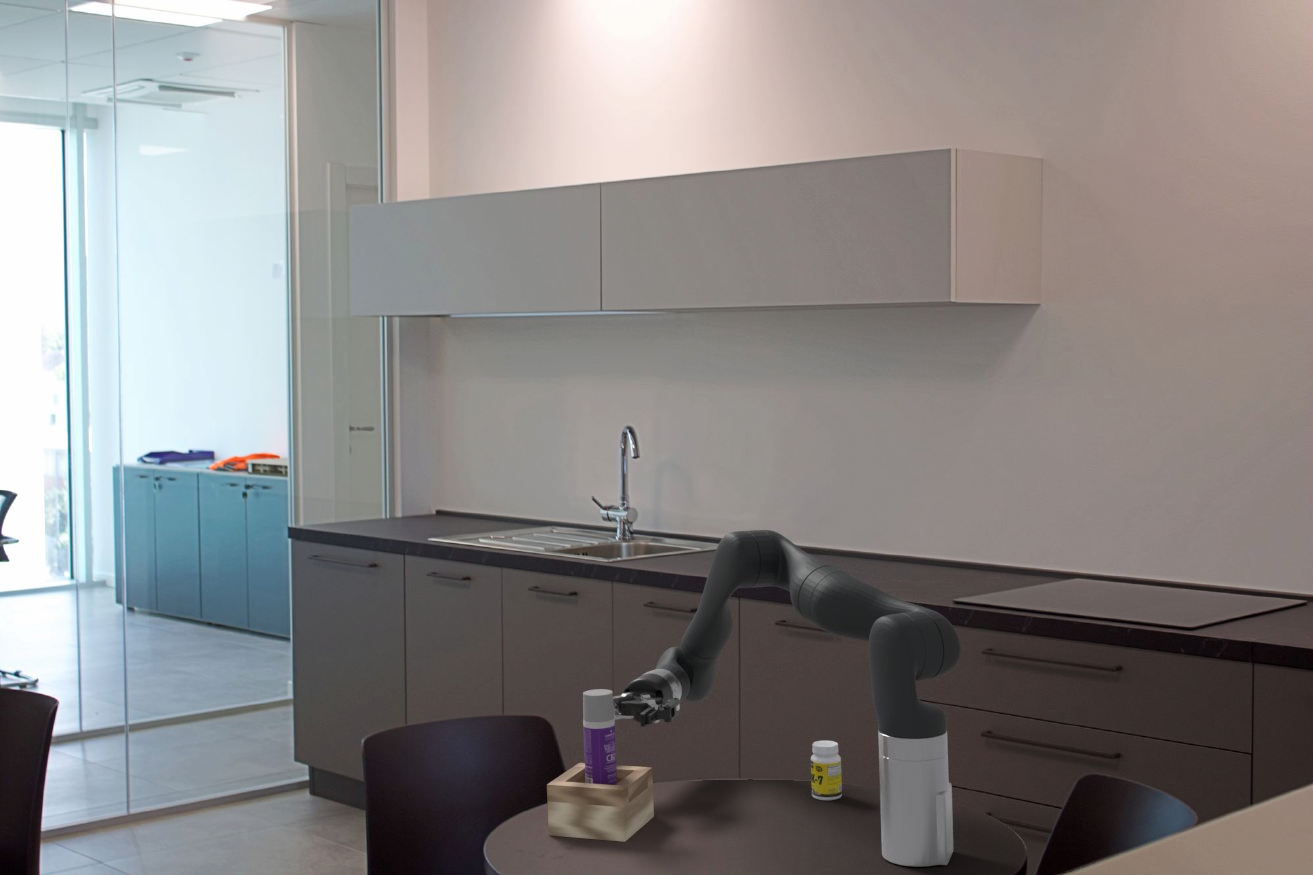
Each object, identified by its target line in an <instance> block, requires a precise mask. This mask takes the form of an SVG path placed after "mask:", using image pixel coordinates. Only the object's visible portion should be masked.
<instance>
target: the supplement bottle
mask: <svg viewBox="0 0 1313 875" xmlns="http://www.w3.org/2000/svg"><path fill="white" fill-rule="evenodd" d="M811 751H812V753H813V754H812V755H811V756H810V779H811V780H810V781H811V783H810V785H811V796H812V797H813V798H814V799H816V800H820V801H834V800H838V799H841V798H842V796H843V785H842V782H843V780H842V759H841V756H840V755H839V743H838V742H836V741H833V740H816V741H814V742H813V743H812V750H811Z"/></svg>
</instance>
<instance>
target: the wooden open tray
mask: <svg viewBox="0 0 1313 875" xmlns="http://www.w3.org/2000/svg"><path fill="white" fill-rule="evenodd" d="M616 770H617V784H616V785H605V784H591V783H586V781H585V762H579V763H577V764H575V765H574V766H572V767H571V768H570V769H568V770H566V771H565V772H563V773H562V774H560V775H559V776H558V777H556V778H554V779H553V780H551V781H550V782H549V783H547V784H546V793H547V795H546V796H547V797H546V798H547V799H546V800H547V801H546V802H547V820H548V822H547V823H548V824H547V825H548V826H547V827H548V836H551V837H552V836H554V837H564V838H566V837H567V838H575V839H577V838H578V839H589V840H590V839H591V840H601V841H610V842H611V841H613V842H623V843H625V842H627V841H628V840H629V839H630V838H631V837H633V836H634V834H636V833H637V832H638V831H639V830H640V829H642V828H643V827H644V826H645V825H646V824H647V823H648V822H650V821H651V820H652V819H653V818H654V817H655V809H654V807H655V806H654V804H655V803H654V784H653V781H654V780H653V776H654V775H653V767H649V766H637V765H636V766H633V765H620V764H619V765H618V764H616Z"/></svg>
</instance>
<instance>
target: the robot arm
mask: <svg viewBox="0 0 1313 875" xmlns="http://www.w3.org/2000/svg"><path fill="white" fill-rule="evenodd" d="M764 587H777V588H779V589H783V590H786V591H787V592H789V596H790V601H791V604H792V607H793V608H794V610H795V611H796V613H797V615H799V616H800V617H801V618H802V619H803V620H805V621H807V622H808V623H810V624H811V625H813V626H814V627H817V628H819V629H820V630H823V631H824V632H827V633H828V634H832V635H834V636H838V637H842V638H847V639H851V640H852V639H853V640H859V641H864V642H868V660H869V671H870V683H871V696H872V697H871V698H872V705H873V709H874V712H875V715H876V720H877V731H878V732H877V733H878V734H877V736H878V762H879V763H878V764H879V768H878V769H879V800H880V801H879V802H880V806H879V807H880V831H881V832H880V833H881V834H880V836H881V837H880V839H881V840H880V841H881V855H882V857H883V858H884V860H886V861H888V862H890V863H892V864H896V865H899V866H906V867H916V868H917V867H931V866H939V865H940V866H947V865H948V864H949V862H950V860H951V857H952V856H953V852H954V828H953V827H954V824H953V823H954V821H953V792H952V791H953V788H952V786H953V785H952V783H951V782H950V780H949V752H948V751H949V749H948V718H947V712H946V711H945V710H944V708H942V707H940V706H939V705H936V704H932V703H929V702H924V701H922V700H921V699H919V695H918V689H917V683H916V682H918V681H923V680H929V679H930V680H931V679H933V678H938V677H942V676H945V675H946V674H948V673H949V672H951V671H952V670H953V669H954V668H955V667H956V665H957V664H958V663H959V660H960V658H961V652H962V648H961V647H962V646H961V641H960V637H959V635H958V632H957V630H956V629H955V627H954V626H953V625H952V622H950V621H949V620H948V618H946V617H945V615H943V614H941V613H939V612H937V611H935V610H933V609H930V608H928V607H925V606H921V605H918V604H916V603H911V602H909V601H906V600H903V599H901V598H897V597H895V596H893V595H891V594H889V593H887V592H885V591H883V590H882V589H879V588H878V587H875V586H874V585H871V584H870V583H868V582H866V581H863V580H861V579H860V578H858V577H856V576H854V575H853V574H851V573H849V572H847V571H845V570H843V569H841V568H839V567H837V566H835V565H832V564H830V563H828V562H826V561H824V560H822V559H820V558H819V557H816V556H814V555H812V554H809V553H808V552H806V551H804V549H801V547H799V546H797V544H795V543H794V542H793V541H791V540H789V538H786V537H785V536H784V535H782V534H781V533H779V532H776V531H774V530H771V529H757V530H756V529H754V530H753V529H752V530H739V531H738V530H737V531H732V532H729V533H726V534H725V535H724V536H723V537H722V538H721V540H720V541H719V543H718V545H717V547H716V550H715V552H714V555H713V558H712V562H711V565H710V567H709V571H708V574H707V578H706V581H705V584H704V588H703V591H702V595H701V597H700V598H701V599H700V603H699V605H698V607H697V610H696V611H695V614H694V616H693V618H692V620H691V621H690V623H689V625H688V626H687V629H686V630H685V632H684V634H683V636H682V638H681V641H680V645H679V646H676V645H675V646H671V647H669V648H668V649H666V650H665V651H664V652H663V653H662V655H661V656H660V658H659V659H658V662H657V664H656V666H655V668H654V669H653V670H649V671H646V672H645V673H643V674H641V675H640V676H639V677H637V678H635V679H634V680H632V681H630V682H629V683H628V684H627V686H626V687H625V688H624V690H623V692H622V694H621V695H615V696H614V695H613V704H614V720H621V719H628V720H629V719H631V720H632V721H634V722H636V723H638V724H640V727H641V728H647V727H649V726H650V725H652V724H657V723H660V720H663V722H664V723H668V724H669V723H672V721H674V720H675V719H677V717H678V716H679V715H681V714H680V713H681V710H680V709H681V706H680V703H681V702H683V701H685V702H688V703H691V704H697V703H701V702H702V701H703V700H705V699H706V698H707V697H708V696H709V694H710V693H711V691H712V689H713V687H714V684H715V680H716V676H717V669H718V668H717V667H718V661H719V658H720V655H721V653H722V651H723V650H724V648H725V647H726V645H727V643H728V642H729V640H730V637H731V635H732V632H733V627H734V626H733V625H734V621H733V614H732V610H731V608H730V604H729V599H730V598H731V596H732V595H733V593H735V592H736V591H737V590H738V589H751V588H764ZM616 712H617V713H616Z"/></svg>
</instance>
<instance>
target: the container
mask: <svg viewBox="0 0 1313 875" xmlns="http://www.w3.org/2000/svg"><path fill="white" fill-rule="evenodd" d="M613 697H614V692H613V690H611V689H605V688H599V689H598V688H596V689H595V688H594V689H589V690H586V691H583V693H582V711H583V712H582V714H583V715H582V716H583V718H582V725H583V726H582V728H583V751H584V752H583V754H584V763H585V781H586V783H591V784H605V785H616V784H617V770H616V765H617V749H616V747H617V746H616V722H615V720H614V704H613Z"/></svg>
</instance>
